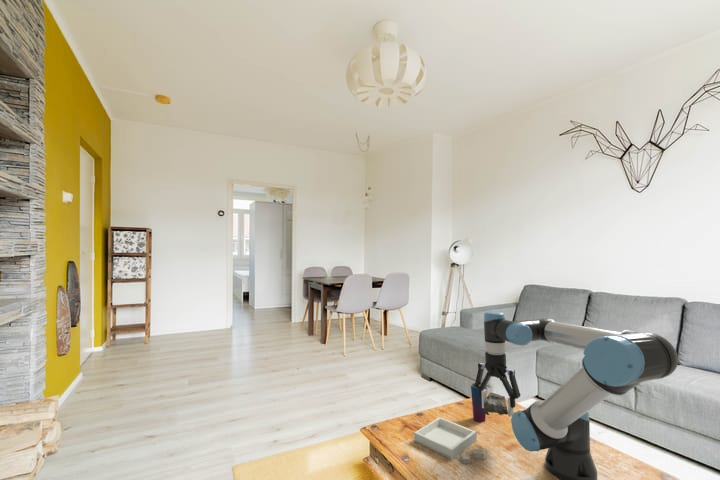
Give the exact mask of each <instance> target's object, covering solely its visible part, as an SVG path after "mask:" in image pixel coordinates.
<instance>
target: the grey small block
mask: <svg viewBox="0 0 720 480" xmlns="http://www.w3.org/2000/svg"><path fill="white" fill-rule="evenodd" d="M472 449H473V450H472V451H473V452H472V453H473V458H474V459H480V460H481V459H482V460H484V459H485V451H484V449H481V448H472Z"/></svg>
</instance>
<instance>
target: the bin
mask: <svg viewBox="0 0 720 480" xmlns="http://www.w3.org/2000/svg"><path fill="white" fill-rule="evenodd" d="M413 434H414V435H413V436H414V439H413V440H414V441H413V442H415V443H416V444H419V445H421V446H423V447H424V448H427V449H429V450H431V451H433V452H435V453H437V454H439V455H441V456H444V457H445V458H448V459H449V460H452V461H453V460H454V459H456V458H457V457H458V456H459V455H460V454H463V452H464V451H466V450H467V449H468V448H469V447H471V446H472V445H473V444H475V443H476V442H477V441H478V440H477V439H478V438H477V431H475V430H473V429H470V428H468V427H465V426H463V425H460V424H458V423H455V422H453V421H451V420H448V419H446V418H443V417H437V418H435V419H434V420H433V421H431V422H429V423H428V424H426V425H424V426H423V427H421V428H419V429H418V430H416V431H415V432H413Z"/></svg>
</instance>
